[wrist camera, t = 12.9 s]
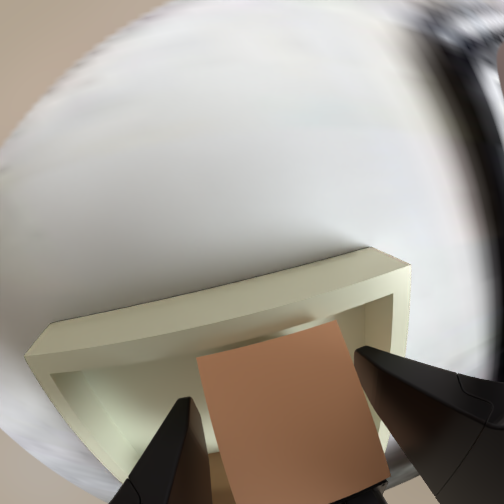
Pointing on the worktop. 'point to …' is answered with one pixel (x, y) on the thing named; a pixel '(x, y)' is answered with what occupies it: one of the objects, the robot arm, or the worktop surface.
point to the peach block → (292, 419)
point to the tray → (207, 345)
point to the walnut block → (219, 481)
